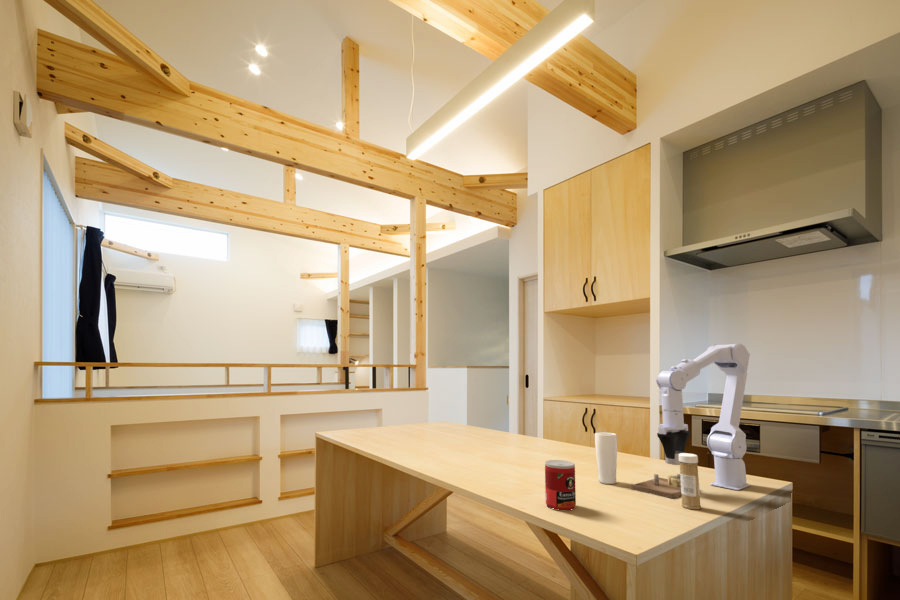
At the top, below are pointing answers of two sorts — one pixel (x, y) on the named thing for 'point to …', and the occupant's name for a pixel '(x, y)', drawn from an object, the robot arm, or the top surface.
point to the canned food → (560, 484)
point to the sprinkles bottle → (689, 481)
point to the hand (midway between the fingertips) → (675, 457)
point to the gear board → (661, 486)
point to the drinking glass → (606, 456)
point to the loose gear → (675, 460)
